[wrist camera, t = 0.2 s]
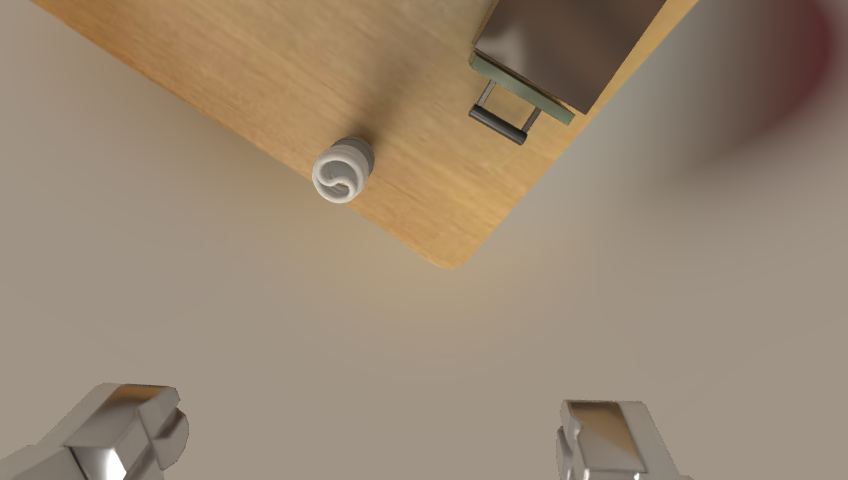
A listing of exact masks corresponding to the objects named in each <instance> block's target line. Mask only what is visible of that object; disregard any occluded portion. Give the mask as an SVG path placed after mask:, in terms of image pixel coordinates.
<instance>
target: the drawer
mask: <svg viewBox="0 0 848 480" xmlns="http://www.w3.org/2000/svg"><path fill="white" fill-rule="evenodd" d="M469 65H470V67H471V68H473V69H474V70H476V71H478V72H479V73H481V74H483V75H484V76H486V77H488V78H489V79H491V80H490V81H489V83H488V85H487V87H486V88H485V90H484V92H483V93H482V95H481V97H480V99H479V100H478V102H477V104H476V103H474V105H473V106H472V108H471V109H470V111H469V114H468V116H470V117H472V118H474V119H475V120H477V121H479V122H481V123H482V124H484V125H486V126H487V127H489V128H491V129H493V130H494V131H496V132H498V133H499V134H501V135H503V136H505V137H506V138H508V139H510V140H512V141H513V142H515V143H517V144H518V145H522V144H523V143H524V141H525V140H526V138H527V135H528V134H527V132H528V130H529V129H530V127H531V126H532V124H533V123H534V121H535V120H536V118H537V117H538V115H539V113H540V112H541V110H543V111H544V112H546V113H548V114H549V115H551V116H553V117H554V118H556V119H558V120H559V121H561V122H563V123H564V124H566V125H569V124H570V122H571V121H572V119H573V118H574V116H575V114H573V113H572V112H571V111H570V110H568V109H567V108H566V107H565V106H564V105H562V104H561V103H560V102H558V101H556V100H555V99H553V98H551V97H550V96H548V95H546V94H545V93H543V92H542V91H540V90H538V89H537V88H535V87H533V86H532V85H530V84H528V83H527V82H525V81H523V80H522V79H520V78H518V77H517V76H515V75H514V74H512V73H510V72H509V71H507V70H505V69H504V68H502V67H500V66H499V65H497V64H495V63H494V62H492V61H490V60H489V59H487V58H486V57H484V56H482V55H481V54H479V53H477V52H476V51H473V53H472V55H471V57H470V59H469ZM496 83H498V84H499V85H501V86H503V87H504V88H506V89H508V90H509V91H511V92H513V93H514V94H516V95H518V96H519V97H521V98H523V99H524V100H526V101H528V102H529V103H531V104H533V105H534V106H536V107H535V109H534V111H533V112H532V114H531V115H530V117H529V118H528V120H527V121H526V123H525V124H524V126H523V128H522V129H521V130H520V129H518V128H517V127H515V126H513V125H512V124H510V123H508V122H506V121H505V120H503V119H501V118H500V117H498V116H496V115H494V114H493V113H491V112H489V111H488V110H486V109H484V108H483V107H482V106H483V104H484V102H485V101H486V99H487V97H488V96H489V94H490V92H491V91H492V89H493V87H494V86H495V84H496Z"/></svg>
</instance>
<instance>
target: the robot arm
mask: <svg viewBox="0 0 848 480" xmlns="http://www.w3.org/2000/svg"><path fill="white" fill-rule="evenodd" d="M179 401H180V398H179V395H178V393H177V391H176V388H173V387H169V386H155V385H154V386H153V385H138V384H115V383H103V384H100V385H98V386H96V387H94V388H93V389H92V390H91V391H90V392H89V393H88V394H87V395H86V396H85V397H84V398H83V399H82V400H81V401H80V402H79V403H78V404H77V405H76V406H75V407H74V408H73V409H72V410H71V411H70V412H69V413H68V414H67V415H66V416H65V417H64V418H63V419H62V420H61V421H60V422H59V423H58V424H57V425H56V426H55V427H54V428H53V429H52V430H51V431H50V432H49V433H48V434H47V435H46V436H45V437H44V438H43V439H42V440H41V441H40V442H39V443H38V444H37V445H28V446H26V447H24V448H22V449H20V450H18V451H16V452H15V453H13V454H11V455H9V456H7V457H5V458H3V459H1V460H0V480H164V470H165V469H167V468H168V467H170V466H171V465H172V464H174V463H175V462H177V460H178V459H179V457H180V455H181V454H182V452H183V451H184V449H185V446H186V442H187V439H188V435H189V424H188V420H187V418H186V415H185V414H184V413H183V412H181V411H180V410H179V409H178V408H177V407H176V406H177V405H178V403H179ZM560 416H561V420H562V424H563V426H561V427H560V428H559V429H558V431H557V439H556V457H557V464H558V470H559V475H560V479H561V480H693V479H692V478H691V477H690V476H684V475H680V474H679V472H678V470H677V468H676V466H675V464H674V462H673V459H672V457H671V456H670V453H669V451H668V449H667V447H666V445H665V443H664V441H663V439H662V437H661V435H660V433H659V431H658V429H657V427H656V425H655V423H654V421H653V419H652V417H651V415H650V413H649V411H648V409H647V407H646V405H645V404H643V403H642V402H640V401H600V400H599V401H597V400H563V402H562V404H561V410H560Z"/></svg>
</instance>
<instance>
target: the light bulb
mask: <svg viewBox="0 0 848 480" xmlns="http://www.w3.org/2000/svg"><path fill="white" fill-rule="evenodd" d="M374 159H375V158H374V153H373V150H372V148H371V147H370V145H369V144H368V143H367V142H366V141H365V140H363V139H361V138H359V137H354V136H350V137H345V138H342V139H341V140H339V141H337V142H335V143H334V144H333V145H332V146H331V148H329V149H327V150H325V151H324V152H323V153H322V154H321V155H320V156H319V158H318V159H317V160H316V162H315V164H314V167H313V171H312V178H313V183H314V186H315V187H316V189H317V191H318V192H319V193H320V194H321V195H322V196H323V197H324V198H326V199H327V200H329V201H331V202H334V203H346V202H349V201H350V200H352V199H353V198H354V197H356V196H357V195H358V194H359V193H360V192H361V191H362V190H363V188H364V187H365V184H366V182H367V179H368V177H369V175H370V174H371V172H372V170H373V166H374ZM331 175H332V176H333V177H334V178H333V177H332V176H331ZM339 183H343V184H346V185H347V186H344V185H341V184H339Z"/></svg>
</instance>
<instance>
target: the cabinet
mask: <svg viewBox="0 0 848 480" xmlns="http://www.w3.org/2000/svg"><path fill="white" fill-rule="evenodd" d="M665 2H666V0H495V1H494V2H493V4H492V6H491V8H490V10H489V12H488V13H487V15H486V17H485V19H484V21H483V23H482V24H481V26H480V28H479V30H478V32H477V34H476V35H475V37H474V39H473V41H472V44H473V46H474V47H475V48H476V49H478V50H480V51H481V52H483V53H484V54H486V55H488V56H489V57H491V58H493V59H494V60H496V61H498V62H499V63H501V64H503V65H504V66H506V67H507V68H509V69H511V70H512V71H514V72H516V73H517V74H519V75H521V76H522V77H524V78H526V79H527V80H529V81H530V82H532V83H534V84H535V85H537V86H539V87H540V88H542V89H544V90H545V91H547V92H549V93H550V94H552V95H553V96H555V97H557V98H558V99H560V100H562V101H563V102H565V103H567V104H568V105H570V106H572V107H573V108H575V109H576V110H578V111H580V112H581V113H583V114H585V115H586V114H587V113H588V111H589V110H590V109H591V107H592V106H593V104H594V103H595V101H596V100H597V99H598V97H599V96H600V94H601V93H602V91H603V90H604V89H605V87H606V86H607V84H608V83H609V82H610V80H611V79H612V77H613V76H614V74H615V73H616V72H617V70H618V69H619V67H620V66H621V64H622V63H623V62H624V60H625V59H626V57H627V56H628V54H629V53H630V52H631V50H632V49H633V47H634V46H635V45H636V43H637V42H638V40H639V39H640V37H641V36H642V35H643V33H644V32H645V30H646V29H647V27H648V26H649V25H650V23H651V22H652V20H653V19H654V18H655V16H656V15H657V13H658V12H659V10H660V9H661V8H662V6H663V5H664V3H665Z"/></svg>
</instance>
